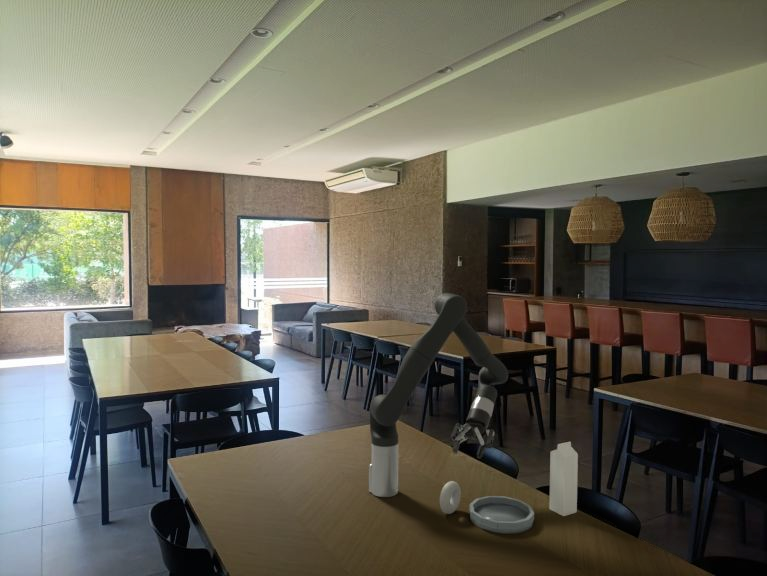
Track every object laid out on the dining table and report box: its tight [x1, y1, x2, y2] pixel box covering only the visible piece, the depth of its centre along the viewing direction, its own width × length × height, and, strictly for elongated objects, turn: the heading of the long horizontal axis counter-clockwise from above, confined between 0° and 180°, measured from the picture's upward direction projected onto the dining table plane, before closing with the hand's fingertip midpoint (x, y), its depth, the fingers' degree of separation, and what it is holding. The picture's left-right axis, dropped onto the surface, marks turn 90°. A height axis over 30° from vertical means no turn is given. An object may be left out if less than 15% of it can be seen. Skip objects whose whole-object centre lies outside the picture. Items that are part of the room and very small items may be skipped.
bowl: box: [469, 495, 535, 535], centre depth 172 cm, size 19×19×3 cm
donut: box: [439, 480, 462, 515], centre depth 176 cm, size 10×4×10 cm, turn 143°
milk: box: [548, 441, 579, 517], centre depth 178 cm, size 6×6×22 cm
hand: (466, 454), depth 185 cm, fingers open, 8 cm apart
